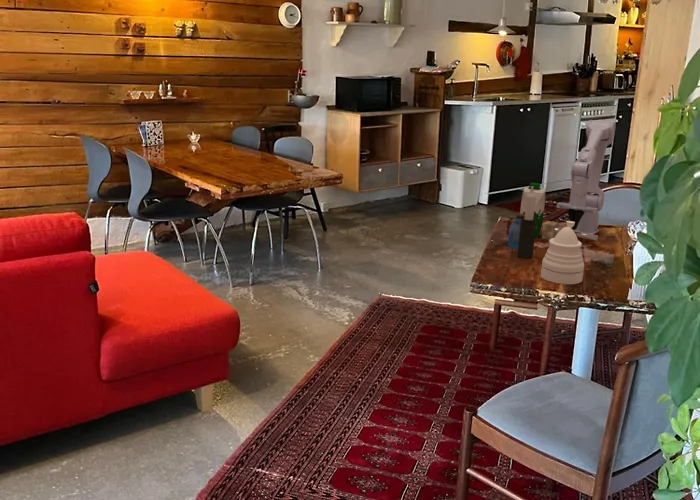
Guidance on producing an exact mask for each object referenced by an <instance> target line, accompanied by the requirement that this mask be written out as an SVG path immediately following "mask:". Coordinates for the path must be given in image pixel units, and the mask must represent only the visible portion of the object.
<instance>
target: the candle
mask: <svg viewBox="0 0 700 500" xmlns="http://www.w3.org/2000/svg"><path fill="white" fill-rule="evenodd" d="M533 188H534V187H533V186H532V187H531V190H530V192H529V194H528V195H527V200H526V209H525V218H522V219H521V224H520V233H519V243H518V249H517V252H516V253H517V258H519V259H528V260H529V259H531V260H532V259H533V257H534V247H535V240H536V238H535V231H536V220H535V219H533V217H534V207H535V198H536V196H535V194H534V191H533Z"/></svg>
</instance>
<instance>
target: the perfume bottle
mask: <svg viewBox="0 0 700 500" xmlns="http://www.w3.org/2000/svg"><path fill="white" fill-rule="evenodd" d="M524 217H525V215H524V214H520V213H516V214H515V217H514V218H515V219H514V220H515V221H513V222H512V223H511V225H509V227H508V237H507V238H508V239H507V245H508V247H509V249H511V250H513V249H514V250H518V243H519V233H520V224H521V219H522V218H524Z"/></svg>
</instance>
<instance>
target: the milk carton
mask: <svg viewBox="0 0 700 500" xmlns="http://www.w3.org/2000/svg"><path fill="white" fill-rule="evenodd" d="M532 186H533V187H534V188H533V191H534V194H535V196H536V198H535V207H534V217H533V219H535V220H536V231H535V239H536V238H537V239H538V238H539V237H540V234H541V230H542V228H543V223H544V212H545V203H546V202H545V201H546V189H545V188H541V183H539V182H530V183H529V187H526V186H525V187H524V188H523V191H522V194H521V202H520V212H519V214H524V215H525V209H526V200H527V195H528V194H529V192H530V190H531V187H532ZM524 218H525V217H524Z"/></svg>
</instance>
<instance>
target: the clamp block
mask: <svg viewBox="0 0 700 500" xmlns="http://www.w3.org/2000/svg"><path fill="white" fill-rule="evenodd" d="M558 226H559V222H555V221H549V220H547V221H545V222H542V233H541V239H542V240H548V241H549V240H550V239H552V238H555V236H556V235H557V234H558V233H554V230H555V228H559V227H558Z"/></svg>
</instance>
